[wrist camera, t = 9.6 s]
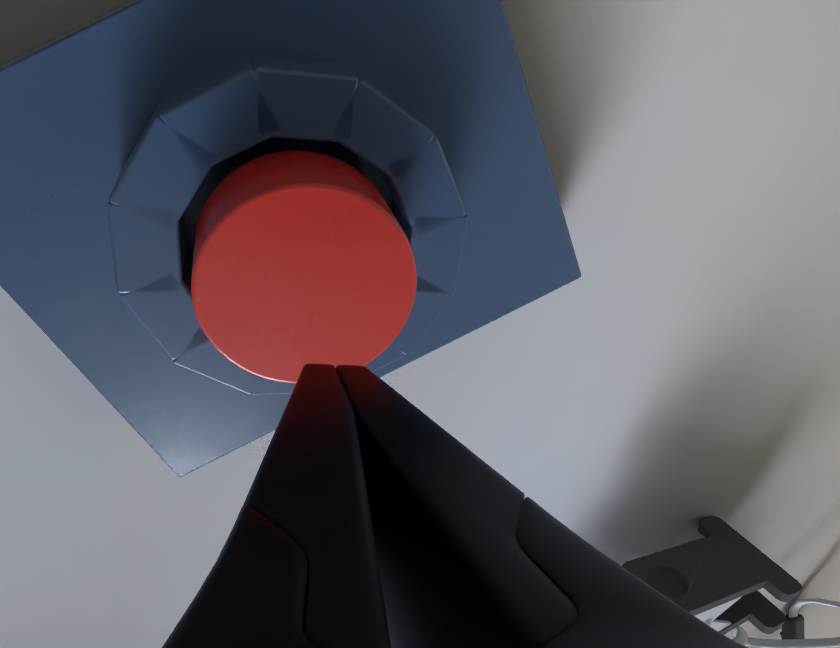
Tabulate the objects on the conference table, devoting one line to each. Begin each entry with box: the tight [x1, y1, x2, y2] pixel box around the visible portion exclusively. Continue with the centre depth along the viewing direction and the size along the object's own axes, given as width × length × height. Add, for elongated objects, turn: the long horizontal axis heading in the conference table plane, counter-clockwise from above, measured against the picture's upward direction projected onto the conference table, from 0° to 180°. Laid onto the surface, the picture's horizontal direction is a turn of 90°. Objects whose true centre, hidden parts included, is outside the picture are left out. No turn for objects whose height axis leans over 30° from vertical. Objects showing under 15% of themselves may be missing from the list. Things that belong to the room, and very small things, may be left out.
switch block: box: [0, 0, 581, 477], centre depth 15 cm, size 12×10×4 cm
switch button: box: [191, 151, 417, 383], centre depth 12 cm, size 4×4×2 cm
